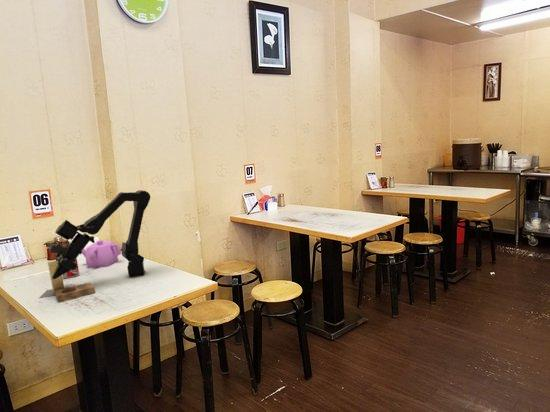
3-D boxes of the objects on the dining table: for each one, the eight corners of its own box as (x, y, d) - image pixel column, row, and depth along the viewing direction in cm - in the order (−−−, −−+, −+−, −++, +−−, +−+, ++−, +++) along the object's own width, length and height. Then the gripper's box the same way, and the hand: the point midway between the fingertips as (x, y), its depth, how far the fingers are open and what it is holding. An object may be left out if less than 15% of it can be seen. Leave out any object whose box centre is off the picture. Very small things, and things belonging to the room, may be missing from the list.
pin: (63, 289, 178) (58, 260, 176) (65, 291, 174) (59, 261, 172) (53, 292, 175) (47, 262, 173) (54, 294, 172) (48, 264, 170)
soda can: (73, 279, 195) (68, 252, 193) (59, 279, 196) (54, 252, 194) (82, 274, 202) (78, 248, 200) (69, 274, 203) (65, 248, 201)
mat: (71, 287, 182) (71, 286, 182) (64, 295, 173) (64, 294, 173) (47, 290, 181) (46, 290, 181) (38, 299, 171) (38, 298, 171)
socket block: (91, 288, 178) (90, 282, 177) (95, 293, 171) (94, 286, 171) (56, 297, 171) (54, 290, 170) (58, 303, 164) (57, 296, 163)
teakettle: (93, 270, 206) (89, 246, 204) (80, 265, 218) (76, 242, 216) (126, 261, 218) (122, 238, 216) (111, 257, 230) (108, 235, 228)
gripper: (56, 232, 181) (32, 263, 177) (62, 239, 166) (36, 272, 161) (79, 246, 186) (56, 276, 182) (87, 253, 171) (62, 286, 167)
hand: (52, 277), depth 173 cm, fingers closed on pin, 4 cm apart
